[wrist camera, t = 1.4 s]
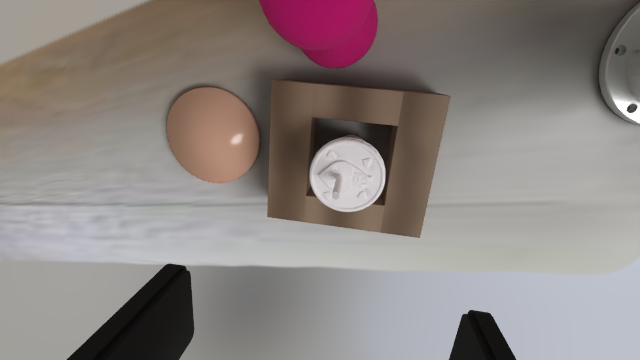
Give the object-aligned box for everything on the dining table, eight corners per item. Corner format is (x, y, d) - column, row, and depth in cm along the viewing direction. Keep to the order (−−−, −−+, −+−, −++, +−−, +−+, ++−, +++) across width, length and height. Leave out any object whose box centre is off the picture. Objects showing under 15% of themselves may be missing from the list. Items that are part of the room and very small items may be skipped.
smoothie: (325, 119, 33) (300, 147, 20) (384, 125, 33) (398, 157, 20) (320, 174, 35) (296, 232, 22) (376, 181, 35) (383, 243, 22)
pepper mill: (289, 33, 31) (177, -34, 12) (338, -29, 29) (292, -227, 10) (339, 84, 32) (306, 94, 13) (391, 28, 30) (439, -57, 11)
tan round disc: (261, 91, 33) (258, 92, 32) (259, 185, 37) (257, 188, 36) (167, 82, 34) (162, 83, 33) (175, 174, 38) (170, 177, 37)
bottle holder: (437, 93, 31) (450, 96, 26) (412, 216, 36) (419, 237, 31) (284, 79, 33) (271, 79, 28) (279, 199, 37) (267, 216, 32)
